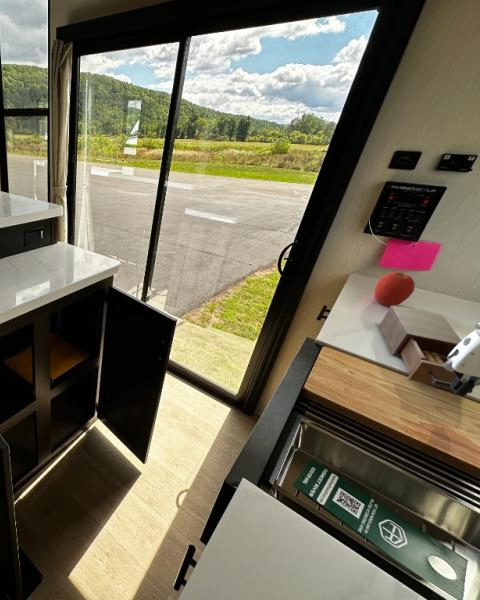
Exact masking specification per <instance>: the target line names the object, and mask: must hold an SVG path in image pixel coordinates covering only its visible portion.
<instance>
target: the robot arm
mask: <svg viewBox="0 0 480 600" xmlns="http://www.w3.org/2000/svg"><path fill="white" fill-rule="evenodd" d="M474 328H475V330H473V331H472V332H471V333H468V335H467V336H465V337H464V338H463V339H461V340H462V341H461V342H460V343H459V344H458V345H457V346H456V347H455V348H454V349H453V350H452V351H451V353H450V354H449V355H448V357H447V359H448V361H446V362H445V363H443V364H442V365H443V367H444V369H446V370H448V371H451V372H454V373H455V374H456V375H457V377H456V378H455V379H454V380H453V381H452V382H451V384H450V387H451V389H452V390H453V391H452V390H451V391H452V392H453V394H454V395H457V396H461V397H466V396H467V394H469V393H468V392H470V391H471V390H473V389H475V387H476V386H477V387H480V322H477V323H476V324H474Z"/></svg>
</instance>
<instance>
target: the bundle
mask: <svg viewBox="0 0 480 600" xmlns="http://www.w3.org/2000/svg"><path fill="white" fill-rule="evenodd" d="M422 353H423V355H424V356H425V358H426V359H425V361H430V362H434V363H439V364H443V362H444V360H445V359H446V356H441V355H438V354H437V353H430V352H428V351H422Z"/></svg>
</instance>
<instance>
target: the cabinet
mask: <svg viewBox="0 0 480 600" xmlns="http://www.w3.org/2000/svg"><path fill="white" fill-rule="evenodd" d="M378 327H379V329H380V331H381V333H382V335H383V338H384V340H385V342H386V344H387V347H388V349H389V351H390V353H391V355H392V356H395V357H399V358H402V357H401V355H400V353H399V350H400V349H401V347H402V346H403V344H404V343H405V341H406V340H407V338H408V337H409V336H410V337H415V338H420V339H425V340H430V341H435V342H440V343H444V344H449V345H454V346H457V345H458V344H459V343H460V342H461V341H462V340H463V339H461V337H460V336H459V335H458V334H457V332H456V331H455V330H454V328H453V327H452V326H451V324H450V323H449V322H448V320H447V319H446V318H445V316H444V315H443V314H442V313H437V312H432V311H425V310H420V309H414V308H408V307H403V306H399V305H394V306H392V305H391V306H389V308H388V310H387V311H386V313H385V315H384V316H383V318H382V319H381V321H380V323H379V325H378Z"/></svg>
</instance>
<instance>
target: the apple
mask: <svg viewBox="0 0 480 600" xmlns="http://www.w3.org/2000/svg"><path fill="white" fill-rule="evenodd" d="M415 284H416V283H415V281H414V279H413V277H412V276H410V275H408V274H406V273H404V271H402V272H396V271H394V272H393V271H392V272H389V273H387V274H384V275H383V276H382V277H380V278H379V279H378V281H377V283H376V285H375V288H374V299H375V300H376V301H377V303H379V304H380V305H383V306H387V307H391V305H392V306H399V305H401V304H402V303H404V302H405V301H406V300H408V299H409V298H410V296H411V295H412V294H413V293H414V292H415V286H416V285H415Z"/></svg>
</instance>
